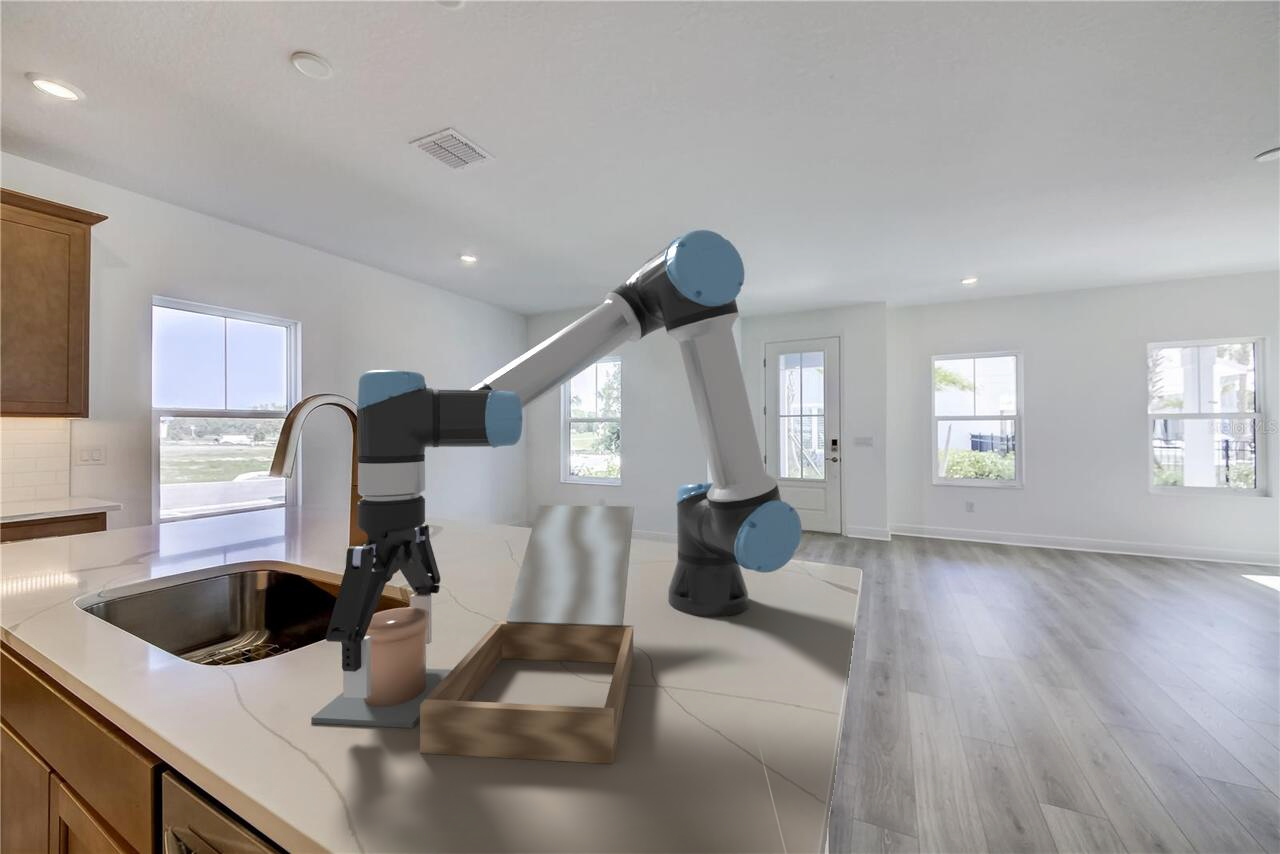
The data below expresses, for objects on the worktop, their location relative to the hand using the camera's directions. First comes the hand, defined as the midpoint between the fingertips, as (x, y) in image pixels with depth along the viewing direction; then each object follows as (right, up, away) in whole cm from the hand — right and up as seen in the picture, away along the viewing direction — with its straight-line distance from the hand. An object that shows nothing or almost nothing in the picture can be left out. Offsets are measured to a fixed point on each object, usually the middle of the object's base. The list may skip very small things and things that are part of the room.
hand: (392, 666), depth 62 cm
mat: (0, -4, 0) cm, 4 cm away
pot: (0, -3, 0) cm, 3 cm away
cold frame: (+20, -4, +8) cm, 21 cm away
